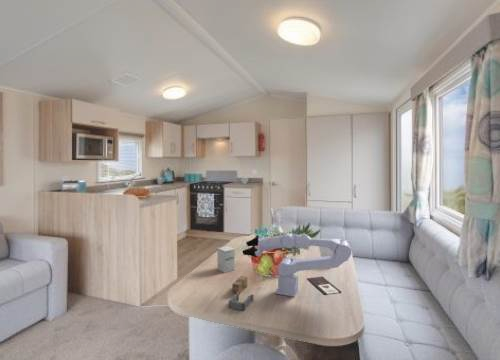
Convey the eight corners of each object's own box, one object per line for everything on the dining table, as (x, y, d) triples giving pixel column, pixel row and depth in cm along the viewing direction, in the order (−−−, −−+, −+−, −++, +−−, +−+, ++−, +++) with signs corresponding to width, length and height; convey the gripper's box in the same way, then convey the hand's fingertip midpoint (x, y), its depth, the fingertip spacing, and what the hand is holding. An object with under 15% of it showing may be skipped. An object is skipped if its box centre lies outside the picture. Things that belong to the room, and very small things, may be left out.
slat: (241, 285, 146) (241, 275, 145) (247, 286, 144) (247, 277, 144) (232, 294, 136) (232, 283, 136) (239, 295, 135) (239, 285, 135)
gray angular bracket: (253, 300, 130) (253, 294, 129) (245, 311, 121) (245, 304, 120) (237, 297, 133) (237, 291, 133) (227, 307, 124) (227, 300, 124)
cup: (336, 267, 170) (336, 248, 169) (315, 263, 176) (316, 245, 175) (340, 260, 181) (341, 243, 180) (321, 257, 187) (321, 240, 186)
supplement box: (224, 273, 160) (224, 251, 159) (217, 269, 166) (217, 247, 165) (235, 270, 165) (235, 248, 164) (227, 266, 171) (227, 245, 170)
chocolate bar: (322, 276, 155) (341, 291, 138) (322, 278, 155) (341, 293, 138) (307, 278, 153) (324, 293, 136) (307, 280, 153) (324, 295, 136)
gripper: (270, 229, 145) (245, 234, 149) (265, 244, 132) (238, 249, 136) (274, 240, 147) (250, 245, 151) (270, 257, 133) (243, 262, 138)
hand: (245, 248), depth 144 cm, fingers open, 7 cm apart
